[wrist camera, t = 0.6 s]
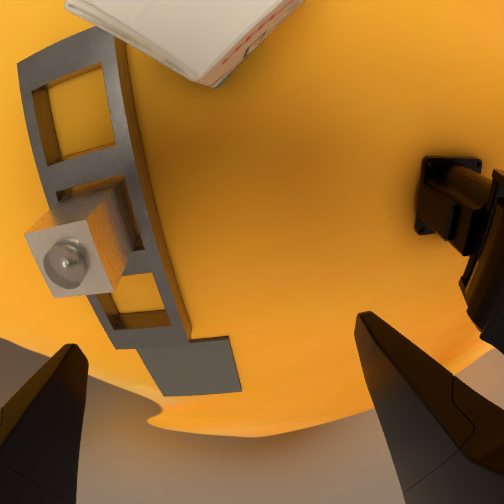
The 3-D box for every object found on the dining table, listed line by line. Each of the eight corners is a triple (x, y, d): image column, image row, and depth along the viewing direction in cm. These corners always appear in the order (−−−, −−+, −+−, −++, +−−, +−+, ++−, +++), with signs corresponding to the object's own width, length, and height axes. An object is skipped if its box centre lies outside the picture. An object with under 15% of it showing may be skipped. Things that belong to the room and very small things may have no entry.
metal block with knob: (127, 173, 18) (80, 225, 12) (142, 229, 20) (111, 299, 14) (75, 186, 18) (18, 240, 12) (93, 238, 20) (50, 304, 14)
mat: (228, 335, 26) (228, 339, 26) (241, 388, 31) (241, 391, 31) (135, 343, 26) (134, 346, 26) (164, 393, 31) (163, 396, 31)
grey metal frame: (123, 25, 13) (111, 20, 11) (191, 328, 26) (190, 345, 24) (33, 62, 13) (16, 63, 11) (120, 333, 26) (115, 349, 24)
